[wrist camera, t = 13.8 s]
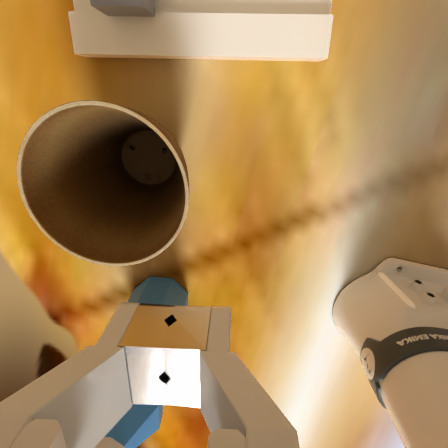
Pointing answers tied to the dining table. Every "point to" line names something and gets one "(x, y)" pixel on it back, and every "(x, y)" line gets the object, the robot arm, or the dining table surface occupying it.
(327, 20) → the switch plate
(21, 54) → the dining table surface
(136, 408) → the water bottle
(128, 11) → the switch knob
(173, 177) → the plant pot
